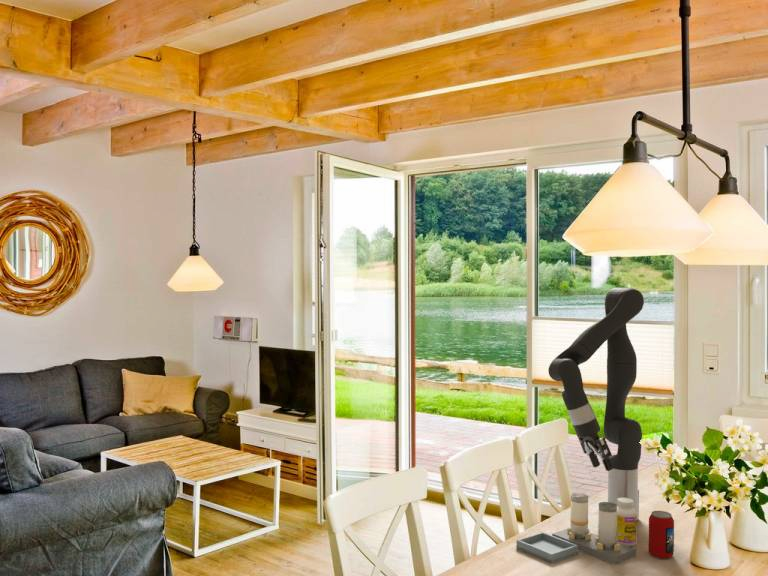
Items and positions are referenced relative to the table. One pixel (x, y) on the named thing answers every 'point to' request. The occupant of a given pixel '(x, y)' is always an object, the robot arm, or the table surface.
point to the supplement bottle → (626, 522)
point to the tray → (547, 547)
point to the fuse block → (597, 547)
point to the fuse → (607, 525)
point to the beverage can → (661, 535)
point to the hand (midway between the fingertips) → (603, 468)
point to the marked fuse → (579, 515)
